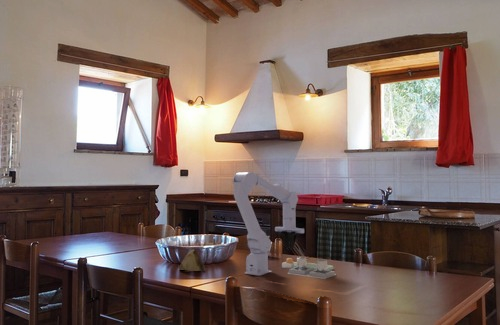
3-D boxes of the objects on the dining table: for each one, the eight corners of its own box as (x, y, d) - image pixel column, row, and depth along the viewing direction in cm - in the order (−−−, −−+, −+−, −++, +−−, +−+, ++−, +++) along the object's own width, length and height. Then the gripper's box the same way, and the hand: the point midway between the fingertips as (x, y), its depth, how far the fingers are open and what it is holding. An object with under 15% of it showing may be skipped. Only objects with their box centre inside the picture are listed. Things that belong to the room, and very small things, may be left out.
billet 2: (324, 276, 185) (323, 261, 185) (315, 275, 188) (315, 260, 188) (328, 275, 188) (328, 259, 189) (320, 273, 191) (320, 258, 191)
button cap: (290, 266, 205) (290, 259, 205) (285, 265, 207) (285, 258, 207) (293, 265, 207) (293, 258, 208) (288, 264, 209) (288, 257, 209)
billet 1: (303, 273, 192) (303, 258, 192) (295, 272, 194) (295, 257, 194) (308, 271, 195) (307, 256, 195) (300, 270, 197) (299, 256, 198)
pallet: (324, 280, 182) (324, 274, 182) (286, 275, 193) (286, 269, 193) (336, 276, 189) (336, 270, 190) (299, 271, 201) (299, 265, 201)
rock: (172, 266, 202) (186, 265, 195) (180, 249, 207) (194, 248, 200) (188, 278, 208) (203, 278, 201) (196, 261, 212) (210, 260, 205)
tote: (324, 274, 194) (323, 268, 194) (293, 269, 203) (293, 264, 204) (333, 270, 201) (333, 265, 201) (303, 266, 210) (303, 262, 210)
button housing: (291, 269, 204) (291, 264, 204) (281, 268, 207) (281, 262, 207) (297, 268, 208) (297, 262, 208) (288, 266, 211) (288, 261, 211)
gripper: (307, 218, 207) (308, 248, 206) (280, 216, 216) (281, 245, 215) (299, 219, 201) (299, 250, 201) (272, 217, 210) (272, 247, 210)
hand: (289, 248), depth 207 cm, fingers closed
